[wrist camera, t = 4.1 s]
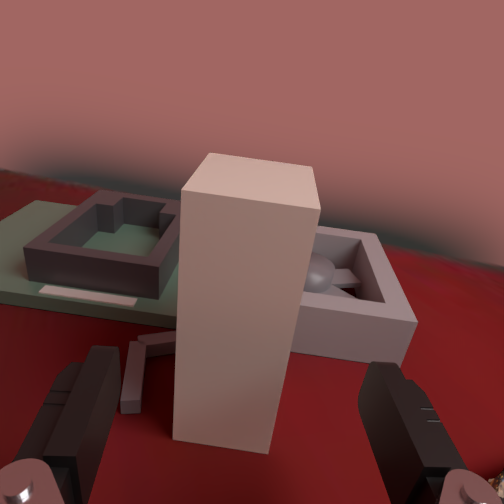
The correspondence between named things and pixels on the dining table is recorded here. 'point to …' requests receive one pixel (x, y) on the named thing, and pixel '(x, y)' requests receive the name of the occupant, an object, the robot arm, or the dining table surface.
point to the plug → (239, 296)
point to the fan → (321, 311)
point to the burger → (498, 484)
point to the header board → (95, 258)
